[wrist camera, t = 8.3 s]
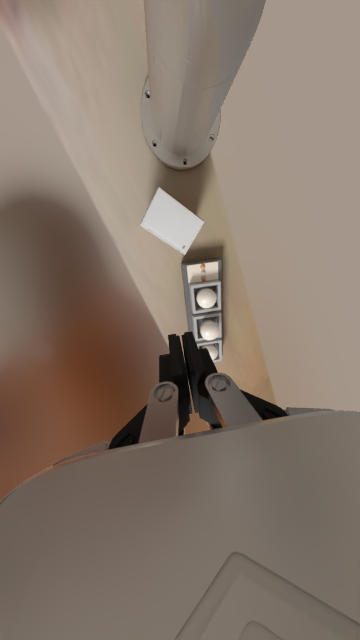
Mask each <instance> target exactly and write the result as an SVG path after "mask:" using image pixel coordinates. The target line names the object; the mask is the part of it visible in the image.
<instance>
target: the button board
mask: <svg viewBox="0 0 360 640" xmlns="http://www.w3.org/2000/svg"><path fill="white" fill-rule="evenodd" d="M181 268H182V277H183V286H184V295H185V304H186V313H187V322H188V332H191V331H192V332H193V335H194V338H195V341H196V343H197V346H198V349H200V348H201V346H202V345H208V344H214V345H215V347H216V349H217V351H218V356H217V357H216V358H215V359H214V360H213V362H219V361H222V355H223V332H222V260H221V259H218V258H216V259H209V260H201V261H194V262H187V263H181ZM203 287H208V288H210V289H211V290H212V291H214V292H215V294H216V297H217V299H216V302H215V304H214V305H213V306H212V307H210V308H202V307H201V306H200V305H199V304H198V302H197V301H196V293H197V292H198V290H199V289H201V288H203ZM206 320H212V321H214V322H215V323H216V324H217V326H218V327H219V330H220V333H219V335H218V337H217V338H215V339H214V340H205V339H204V338H203V337H202V335H201V333H200V325H201V324H202V323H203V322H204V321H206Z"/></svg>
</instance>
